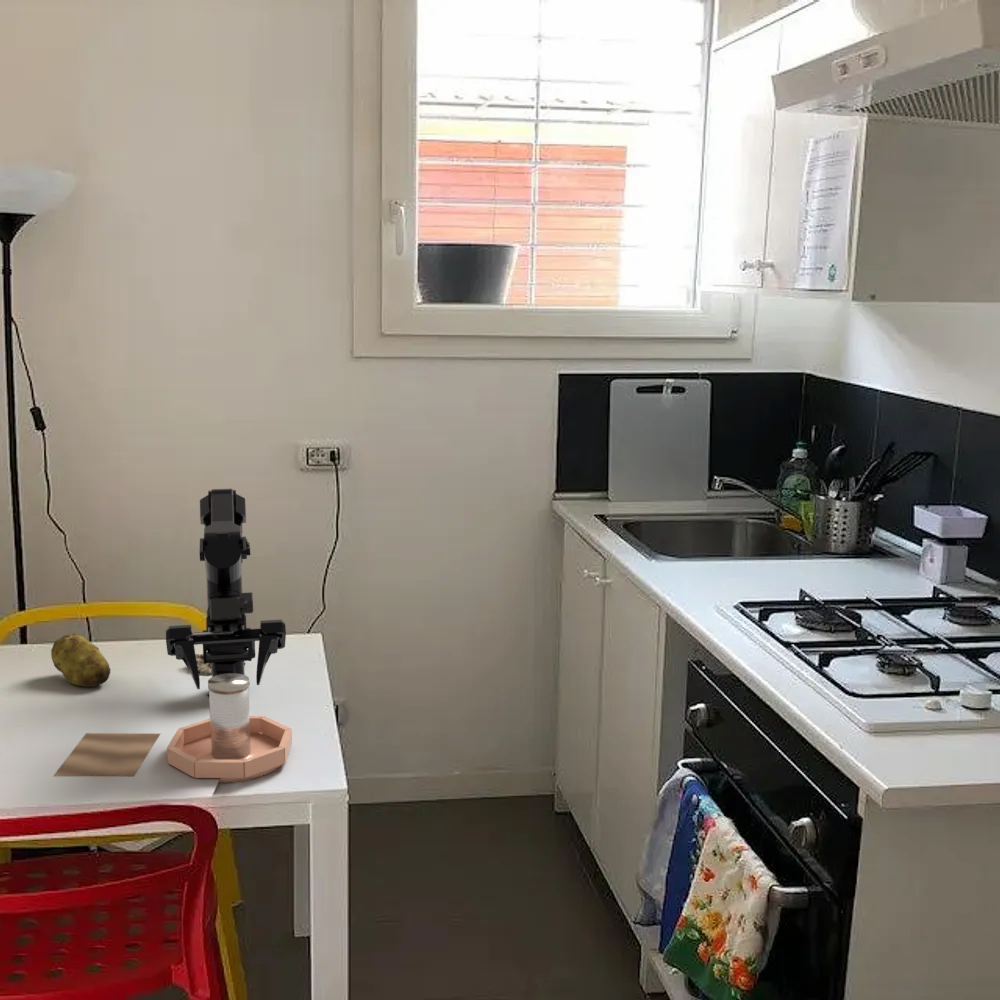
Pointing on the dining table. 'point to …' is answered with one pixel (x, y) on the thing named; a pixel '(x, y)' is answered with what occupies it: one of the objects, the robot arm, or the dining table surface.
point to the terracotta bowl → (197, 761)
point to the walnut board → (108, 754)
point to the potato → (80, 661)
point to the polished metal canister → (229, 716)
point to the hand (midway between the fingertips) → (228, 686)
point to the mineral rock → (204, 665)
